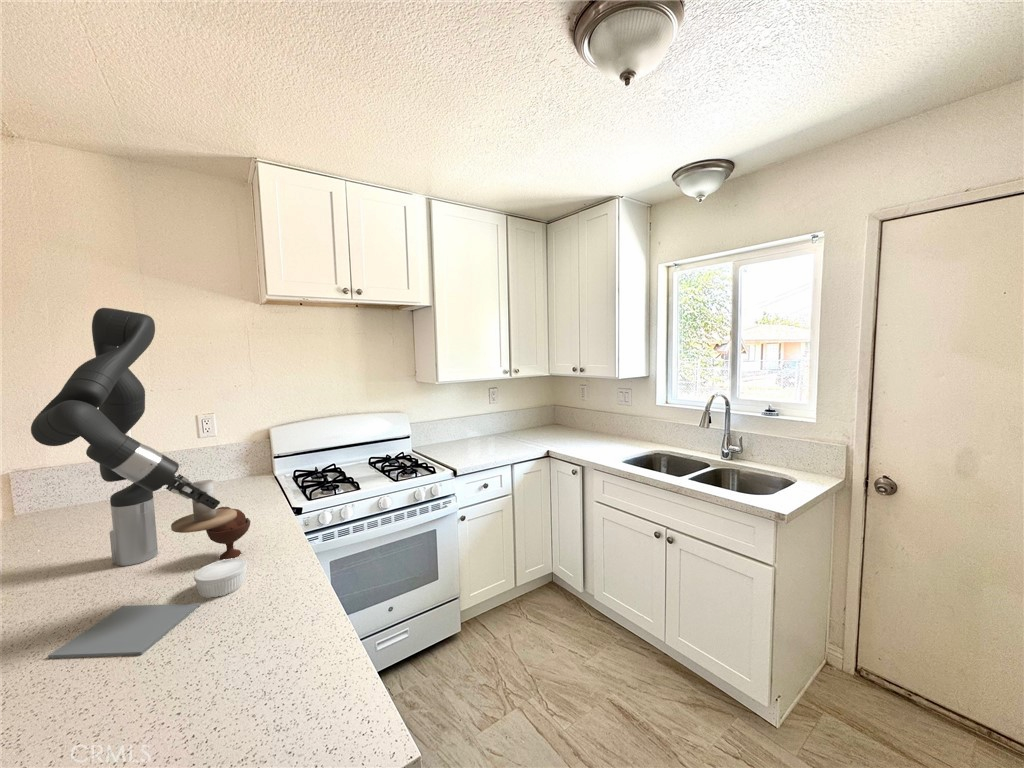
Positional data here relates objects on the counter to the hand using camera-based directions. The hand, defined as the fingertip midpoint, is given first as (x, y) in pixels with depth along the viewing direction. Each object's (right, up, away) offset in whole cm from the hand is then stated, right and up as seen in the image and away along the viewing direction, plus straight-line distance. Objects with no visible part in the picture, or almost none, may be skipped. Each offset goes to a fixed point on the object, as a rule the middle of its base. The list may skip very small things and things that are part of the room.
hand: (213, 503), depth 103 cm
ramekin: (+1, -23, +2) cm, 23 cm away
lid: (-1, -4, -1) cm, 4 cm away
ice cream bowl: (-9, -21, +19) cm, 30 cm away
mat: (-8, -24, -13) cm, 28 cm away
